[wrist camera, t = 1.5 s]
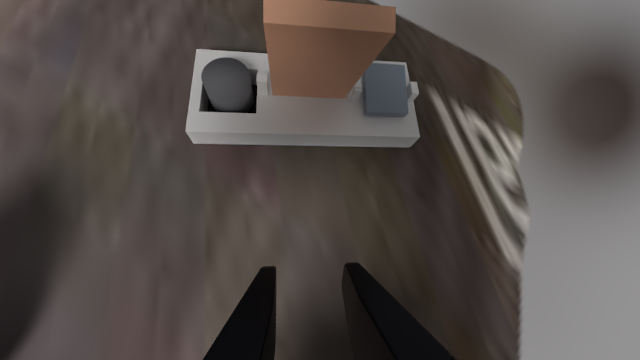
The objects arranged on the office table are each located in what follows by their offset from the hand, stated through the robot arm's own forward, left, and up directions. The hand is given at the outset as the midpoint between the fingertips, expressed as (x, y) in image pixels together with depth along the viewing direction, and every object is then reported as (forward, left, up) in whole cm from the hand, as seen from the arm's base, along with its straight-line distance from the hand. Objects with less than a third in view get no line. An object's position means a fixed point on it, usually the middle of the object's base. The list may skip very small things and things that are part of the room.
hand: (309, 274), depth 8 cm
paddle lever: (+13, -7, -10) cm, 18 cm away
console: (+13, -7, -13) cm, 19 cm away
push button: (+15, -2, -13) cm, 20 cm away
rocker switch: (+10, -13, -10) cm, 19 cm away
